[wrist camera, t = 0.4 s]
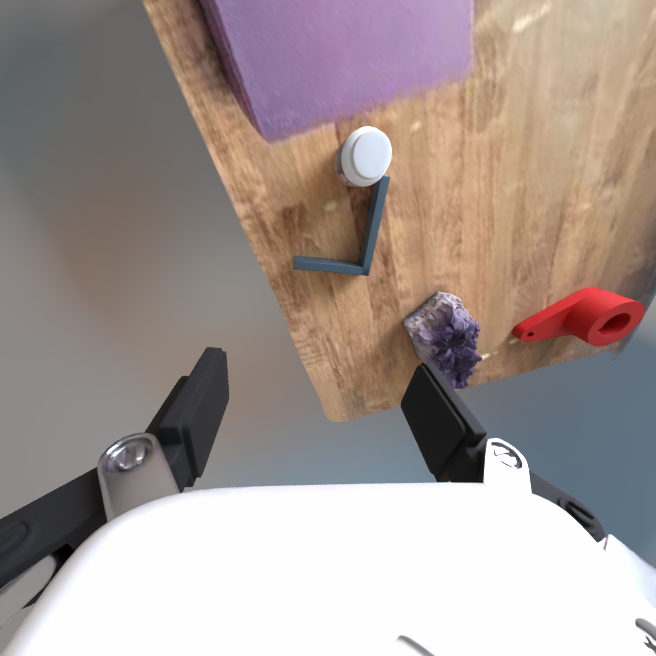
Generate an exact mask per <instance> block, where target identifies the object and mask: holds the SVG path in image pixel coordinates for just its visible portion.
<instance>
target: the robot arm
mask: <svg viewBox="0 0 656 656" xmlns="http://www.w3.org/2000/svg"><path fill="white" fill-rule="evenodd" d="M228 400H229V385H228V370H227V356H226V352H224V351H222V349H221V348H214V347H207V348H206V349H205V351H204V353H203V354H202V356H201V358H200V359H199V361H198V362H197V364H196V366H195V367H194V369H193V371H192V372H191V374H190V375H189V376H182V377H181V378H180V379H179V380H178V382H177V383H176V385H175V386H174V388H173V389H172V391H171V393H170V394H169V396H168V397H167V399H166V400H165V402H164V403H163V405H162V406H161V408H160V409H159V411H158V413H157V414H156V415H155V417H154V419H153V420H152V422H151V423H150V425H149V426H148V428H147V429H146V431H145V432H144V433H136V434H132V435H129V436H126V437H124V438H122V439H120V440H118V441H116V442H115V443H114V444H112V445H111V446H110V447H109V448H107V449H106V451H105V452H104V453H103V454H102V455H101V457H100V459H99V461H98V466H97V467H96V468H94V469H92V470H91V471H89V472H87V473H85V474H83V475H81V476H79V477H78V478H76V479H74V480H72V481H70V482H68V483H67V484H65V485H63V486H61V487H59V488H57V489H55V490H54V491H52V492H50V493H48V494H46V495H44V496H43V497H41V498H39V499H37V500H35V501H33V502H31V503H30V504H28V505H26V506H24V507H22V508H20V509H19V510H17V511H15V512H13V513H11V514H9V515H7V516H6V517H4V518H2V519H0V629H1V628H2V627H3V626H4V625H5V624H6V623H7V622H8V621H9V620H10V619H11V618H12V617H13V616H14V615H15V614H16V613H17V612H19V611H20V610H21V609H23V608H25V607H28V606H30V605H32V604H34V603H35V602H36V603H35V604H34V606H33V607H32V608H31V610H30V611H29V613H28V614H27V616H26V617H25V619H24V620H23V621H22V623H21V624H20V626H19V627H18V629H17V630H16V632H15V633H14V635H13V636H12V638H11V639H10V640H9V642H8V644H7V645H6V646H5V648H4V650H3V651H2V652H1V654H0V656H656V570H655V569H654V568H653V567H651V566H650V565H649V564H648V563H646V562H645V561H644V560H642V559H641V558H640V557H639V556H638V555H636V554H635V553H634V552H633V551H632V550H630V549H629V548H628V547H627V546H625V545H624V544H623V543H622V542H620V541H619V540H618V539H617V538H615V537H614V536H613V535H611V534H608V535H606V534H605V532H604V530H603V527H602V525H601V524H600V522H599V521H598V519H597V518H596V517H595V516H594V515H593V513H592V512H591V511H590V510H589V509H588V508H586V507H585V506H584V505H583V504H582V503H580V502H579V501H577V500H576V499H575V498H573V497H571V496H570V495H568V494H567V493H565V492H563V491H562V490H560V489H558V488H557V487H555V486H553V485H552V484H550V483H548V482H547V481H545V480H544V479H542V478H540V477H539V476H537V475H535V474H534V473H532V472H531V471H529V470H528V466H527V463H526V461H525V459H524V458H523V456H522V455H521V454H520V453H519V452H518V450H516V449H515V448H514V447H513V446H511V445H510V444H508V443H507V442H505V441H502V440H500V439H496V438H491V439H489V440H487V439H486V438H485V436H486V434H487V433H486V431H485V430H484V429H483V427H482V426H481V425H480V423H479V422H478V421H477V419H476V418H475V417H474V415H473V414H472V413H471V412H470V410H469V409H468V408H467V406H466V405H465V404H464V402H463V401H462V400H461V398H460V397H459V396H458V394H457V393H456V392H455V390H454V389H453V388H452V386H451V385H450V384H449V382H448V381H447V380H446V378H445V377H444V376H443V375H442V373H441V372H440V371H439V369H438V368H437V367H436V365H435V364H431V363H421V364H420V365H419V366H417V368H416V370H415V372H414V375H413V377H412V379H411V381H410V383H409V385H408V388H407V390H406V392H405V394H404V396H403V399H402V401H401V408H402V411H403V413H404V415H405V418H406V420H407V422H408V424H409V426H410V429H411V431H412V433H413V435H414V437H415V440H416V442H417V444H418V446H419V448H420V451H421V453H422V455H423V457H424V460H425V462H426V464H427V466H428V469H429V471H430V472H431V473H432V474H434V476H435V478H436V481H437V482H448V481H449V480H450V482H451V483H390V484H339V485H295V486H259V487H235V488H216V489H205V490H195V491H189V492H183V490H184V488H185V487H193V485H194V482H195V480H196V477H201V476H202V474H203V471H204V469H205V466H206V463H207V460H208V457H209V454H210V451H211V449H212V446H213V443H214V440H215V437H216V434H217V431H218V429H219V426H220V423H221V420H222V417H223V415H224V412H225V409H226V406H227V403H228Z"/></svg>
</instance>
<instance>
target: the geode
mask: <svg viewBox="0 0 656 656" xmlns="http://www.w3.org/2000/svg"><path fill="white" fill-rule="evenodd" d="M402 325H403V326H404V328H405V329H406V330H407V332H408V334H409V336H410V337H411V340H412V343H413V346H414V348H415V353H416V355H417V357H418V358H419V359H420V360H422V361H423V362H424V363H431V364H435V365H436V367H437V368H438V369H439V371H440V372H441V373H442V375H443V376H444V377H445V378H446V380H447V381H448V382H449V384H450V385H451V386H452V388H453V389H455V388H458V389H463V388H464V386H468V382H467V379H468V377H469V375H472V374H473V372H474V366H475V364H476V363H477V361H481V360H482V357H480V356H479V355H478V354H477V353H476V352H475V351H474V350H475V349H477V348H476V342H477V337H478V334H479V333H478V332H479V331H480V329H479V325H478V322H477V321H473V320H472V317H471V315H470V314H469V313H468V312H467V310H466V309H465V308H464V306H463V305H462V301H461V300H460V299H459V298H457V297H455V296H454V295H453V294H451V293H444V292H439V291H438V292H437V293H436V294H435V295H434V296H432V297H431V298H430V299H429V300H427V302H426V303H425V304H424V305H423V306H422V307H421V308H420V309H418V310H416V311H415V312H414V313H412V314H410V315H409V316H407V317H406V318H405V319H404V320H403V321H402Z"/></svg>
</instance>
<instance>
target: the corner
mask: <svg viewBox="0 0 656 656" xmlns="http://www.w3.org/2000/svg"><path fill="white" fill-rule="evenodd" d="M389 180H390V176H382V177H381V178H380V179H379V180H378V181H377V182H376V183H374V185H373V190H372V195H371V200H370V206H369V211H368V216H367V221H366V226H365V232H364V237H363V242H362V247H361V253H360V258H359V262H352V261H342V260H333V259H323V258H313V257H303V256H295V258H294V269H302V270H312V271H323V272H333V273H344V274H355V275H365V276H369V272H370V267H371V262H372V258H373V253H374V248H375V244H376V239H377V235H378V230H379V226H380V221H381V216H382V212H383V207H384V203H385V198H386V194H387V189H388V184H389Z"/></svg>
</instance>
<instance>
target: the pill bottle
mask: <svg viewBox="0 0 656 656" xmlns="http://www.w3.org/2000/svg"><path fill="white" fill-rule="evenodd" d="M391 154H392V150H391V144H390V141H389V139H388V137H387V136H386V135H385V134H384V133H383V132H381V131H380V130H378V129H376V128H374V127H362V128H359V129H357V130H356V131H354V132H353V133H352V134H351V135H350V136H349V137H348V138H347V139H346V140H345V142H344V143H343V144H342V145H341V146H340V147H339V149H338V151H337V153H336V156H335V171H336V174H337V176H338V178H339V179H340V181H341V182H342V183H344V184H345V185H347V186H351V187H365V186H370V185H372V184H374V183H376V182H377V181H378V180H379V179H380V178H381V177H382V176H383V175H384V173H385V171H386V169H387V167H388V166H389V163H390V160H391Z"/></svg>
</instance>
